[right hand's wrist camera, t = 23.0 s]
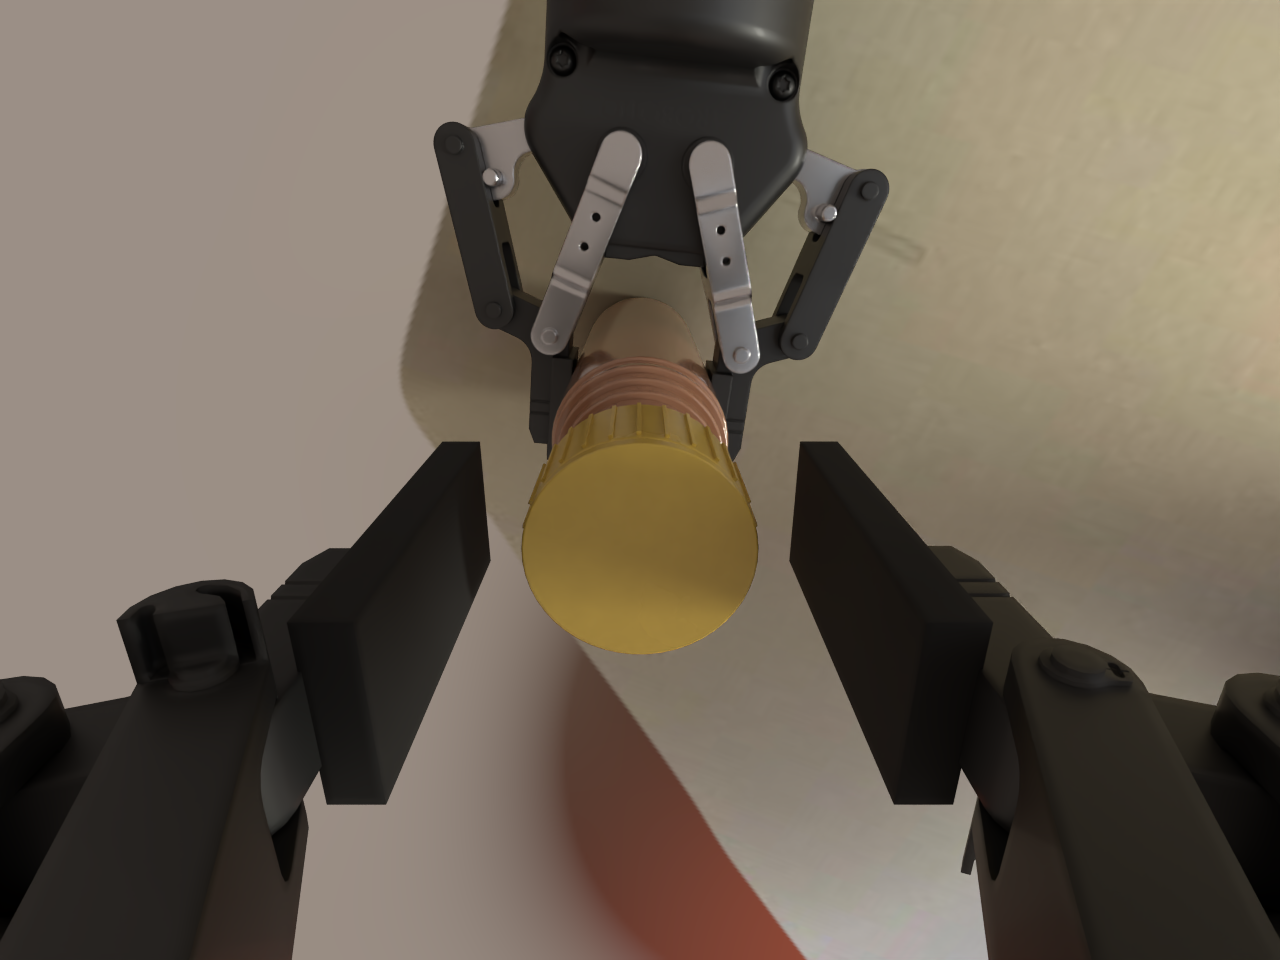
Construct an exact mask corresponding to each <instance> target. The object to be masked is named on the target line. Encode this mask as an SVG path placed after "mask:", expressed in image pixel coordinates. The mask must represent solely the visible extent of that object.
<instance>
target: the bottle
mask: <svg viewBox="0 0 1280 960" xmlns="http://www.w3.org/2000/svg"><path fill="white" fill-rule="evenodd" d="M637 403H641V405H654V406H661V407H662V405H666V408H669V409H673V410H675V411H678V412H680V413H683V414H685V413H688V414H690V417H691V418H693V419H694V420H696V421H698V422H699V423H701V424H702V425H703V426H705V427H706V426H709V427H710V430H711V432H712V433H713V434H714V435H715V436H716V437H717V438H718V440H719V441H720V442H721V444H722V443H723V442H724V443H725V444H726V446H727V449H728V430H727V423H726V420H725V416H724V413H723V410H722V408H721V405H720V403H719V401H718V398H717V396H716V393H715V391H714V389H713V386H712V384H711V381H710V379H709V377H708V374H707V372H706V369H705V367H704V364H703V362H702V360H701V357H700V355H699V352H698V350H697V348H696V345H695V343H694V340H693V338H692V336H691V333H690V331H689V329H688V326H687V325H686V323H685V321H684V320H683V318H682V317H681V316H680V315H679V314H678V313H677V312H676V311H675V310H674V309H673V308H671V307H670V306H668V305H667V304H665V303H663V302H661V301H658V300H655V299H651V298H644V297H637V298H629V299H625V300H622V301H619V302H617V303H615V304H613V305H612V306H610V307H609V308H607V309H606V310H605V311H604V312H603V313H602V314H601V315H600V316H599V317H598V319H597V320H596V322H595V323H594V325H593V327H592V329H591V331H590V334H589V336H588V338H587V341H586V343H585V346H584V348H583V350H582V353H581V355H580V358H579V360H578V362H577V365H576V367H575V370H574V372H573V374H572V377H571V379H570V382H569V384H568V386H567V389H566V391H565V394H564V396H563V398H562V401H561V403H560V406H559V408H558V410H557V413H556V416H555V420H554V424H553V430H552V448H553V446H554V444H557V445H558V444H559V442H560V441H561V440H562V438H563V437H564V436H565V435H566V434H567V433H568V430H569V428H570V427H571V426H572V427H573V428H574V427H575V426H577V425H578V424H579V423H581V422H582V421H584V420H585V419H587V418H588V417H589V415H590V414H593V415H595V414H597V413H600V412H602V411H604V410H607V409H611V408H612V406H614V405H616V407H619V406H626V405H637Z"/></svg>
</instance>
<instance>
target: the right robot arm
mask: <svg viewBox="0 0 1280 960" xmlns="http://www.w3.org/2000/svg"><path fill="white" fill-rule="evenodd" d="M490 561H491V560H490V549H489V538H488V527H487V516H486V505H485V494H484V483H483V471H482V460H481V449H480V442H442V443H441V444H440V445H439V446H438V447H437V449H436V450H435V451H434V452H433V453H432V454H431V456H430V457H429V458H428V459H427V460H426V461H425V463H424V464H423V465H422V466H421V467H420V468H419V470H418V471H417V472H416V473H415V474H414V475H413V476H412V478H411V479H410V480H409V481H408V482H407V484H406V485H405V486H404V487H403V488H402V489H401V490H400V492H399V493H398V494H397V495H396V496H395V497H394V499H393V500H392V501H391V502H390V503H389V504H388V505H387V507H386V508H385V509H384V510H383V511H382V513H381V514H380V515H379V516H378V517H377V518H376V519H375V521H374V522H373V523H372V524H371V525H370V526H369V528H368V529H367V530H366V531H365V532H364V533H363V534H362V536H361V537H360V538H359V539H358V540H357V541H356V543H355V544H354V545H353V546H352V547H351V548H329V549H327V550H326V551H324V552H322V553H320V554H318V555H316V556H315V557H313V558H311V559H309V560H308V561H306V562H304V563H302V564H301V565H300V566H299V567H298V568H297V569H296V570H295V571H294V572H293V574H292V575H291V576H290V577H289V578H288V579H287V580H286V581H285V585H281V586H280V587H279V588H278V589H277V590H276V591H275V592H274V593H273V594H272V595H271V600H267V601H266V602H265V603H264V604H263V605H262V606H261V607H260V608H259V609H258V608H257V603H256V599H255V595H254V591H253V589H252V588H251V587H249V586H248V585H246V584H245V583H243V582H238V581H231V580H225V579H224V580H208V581H199V582H194V583H190V584H185V585H181V586H176V587H173V588H170V589H168V590H165V591H162V592H159V593H157V594H154V595H151V596H149V597H148V598H146V599H144V600H142V601H140V602H139V603H137V604H135V605H133V606H132V607H130V608H129V609H128V610H127V611H126V612H125V613H124V614H122V615H121V616H120V617H119V618H118V619H117V624H118V627H119V630H120V633H121V636H122V639H123V642H124V645H125V648H126V651H127V654H128V657H129V660H130V663H131V666H132V669H133V673H134V675H135V679H136V682H137V685H136V687H135V689H134V691H133V692H132V694H131V696H129V697H125V698H120V699H115V700H109V701H104V702H99V703H93V704H88V705H83V706H78V707H73V708H67V709H64V706H63V704H62V701H61V698H60V696H59V693H58V691H57V688H56V685H55V684H53V683H52V682H50V681H49V680H47V679H45V678H43V677H29V676H21V677H14V678H8V679H0V960H292V953H293V945H294V938H295V930H296V922H297V914H298V906H299V899H300V891H301V883H302V875H303V867H304V859H305V852H306V844H307V836H308V828H309V827H308V821H307V814H306V810H305V806H304V801H303V798H304V796H305V794H306V793H307V791H308V789H309V787H310V786H311V784H312V782H313V780H314V779H315V777H316V775H317V773H318V772H319V771H320V776H321V780H322V785H323V789H324V794H325V798H326V803H327V805H367V804H368V805H385V804H386V803H387V801H388V799H389V796H390V794H391V792H392V789H393V787H394V785H395V782H396V780H397V778H398V775H399V773H400V771H401V768H402V766H403V764H404V761H405V759H406V757H407V754H408V752H409V750H410V747H411V745H412V743H413V740H414V738H415V736H416V733H417V731H418V729H419V726H420V724H421V722H422V719H423V717H424V715H425V712H426V710H427V708H428V705H429V703H430V701H431V698H432V696H433V694H434V691H435V689H436V687H437V685H438V682H439V680H440V678H441V675H442V673H443V671H444V668H445V666H446V664H447V661H448V659H449V656H450V654H451V652H452V650H453V647H454V645H455V643H456V640H457V638H458V636H459V633H460V631H461V629H462V626H463V624H464V622H465V619H466V617H467V615H468V612H469V610H470V608H471V605H472V603H473V601H474V598H475V596H476V594H477V591H478V589H479V587H480V584H481V582H482V580H483V577H484V575H485V573H486V570H487V568H488V566H489V563H490ZM789 561H790V563H791V566H792V568H793V570H794V573H795V575H796V577H797V580H798V582H799V584H800V587H801V589H802V591H803V594H804V596H805V598H806V601H807V603H808V605H809V608H810V610H811V612H812V615H813V617H814V619H815V622H816V624H817V626H818V629H819V631H820V633H821V636H822V638H823V640H824V643H825V645H826V647H827V650H828V652H829V654H830V657H831V659H832V661H833V664H834V666H835V668H836V671H837V673H838V675H839V678H840V680H841V682H842V685H843V687H844V689H845V692H846V694H847V696H848V699H849V701H850V703H851V706H852V708H853V710H854V712H855V715H856V717H857V719H858V722H859V724H860V726H861V729H862V731H863V733H864V736H865V738H866V740H867V743H868V745H869V747H870V750H871V752H872V754H873V757H874V759H875V761H876V764H877V766H878V768H879V771H880V773H881V775H882V778H883V780H884V782H885V785H886V787H887V789H888V792H889V794H890V796H891V799H892V801H893V803H894V805H953V803H954V798H955V794H956V789H957V785H958V780H959V776H960V771H961V768H962V770H963V772H964V773H965V775H966V777H967V779H968V780H969V782H970V784H971V785H972V787H973V789H974V791H975V792H976V794H977V796H978V797H977V801H976V806H975V810H974V814H973V818H972V823H971V827H970V831H969V835H968V839H967V844H966V848H965V852H964V856H963V862H962V868H961V873H965V874H969V875H971V871H972V867H973V863H974V860H976V866H977V873H978V881H979V889H980V897H981V904H982V912H983V920H984V928H985V935H986V943H987V951H988V959H989V960H1280V676H1276V675H1269V674H1262V673H1249V674H1237V675H1235V676H1234V677H1232V678H1231V679H1229V680H1227V681H1226V683H1225V685H1224V688H1223V691H1222V693H1221V696H1220V698H1219V701H1218V704H1217V706H1214V705H1209V704H1203V703H1198V702H1193V701H1188V700H1182V699H1177V698H1172V697H1167V696H1161V695H1156V694H1152V693H1148V691H1147V689H1146V687H1145V685H1144V684H1143V682H1142V681H1141V680H1140V679H1139V677H1138V676H1137V675H1136V674H1135V673H1134V672H1133V670H1132V669H1131V668H1129V667H1128V666H1126V665H1125V664H1123V663H1122V662H1120V661H1119V660H1117V659H1116V658H1114V657H1113V656H1111V655H1109V654H1107V653H1104V652H1102V651H1100V650H1097V649H1095V648H1093V647H1090V646H1088V645H1084V644H1081V643H1077V642H1073V641H1069V640H1065V639H1056V638H1052V637H1051V636H1050V635H1049V633H1048V632H1047V631H1046V630H1045V629H1044V628H1043V627H1042V626H1041V625H1040V624H1039V623H1038V622H1037V621H1036V620H1035V619H1034V618H1033V617H1032V616H1031V615H1030V614H1029V613H1028V612H1027V611H1026V610H1025V609H1024V608H1023V607H1022V606H1021V605H1020V604H1019V603H1018V602H1017V600H1016V599H1015V598H1014V597H1010V596H1009V594H1010V593H1009V592H1008V591H1007V590H1006V589H1005V588H1004V587H1003V586H1002V585H1001V584H1000V583H999V582H995V578H994V577H993V576H992V575H991V574H990V573H989V572H988V571H987V570H986V569H985V568H984V566H983V565H982V564H981V563H980V562H979V561H977V560H975V559H974V558H972V557H970V556H968V555H966V554H964V553H963V552H961V551H959V550H957V549H955V548H954V547H952V546H927V545H926V544H925V543H924V541H923V540H922V539H921V538H920V537H919V536H918V534H917V533H916V532H915V531H914V530H913V529H912V528H911V526H910V525H909V524H908V523H907V522H906V521H905V519H904V518H903V517H902V516H901V515H900V514H899V512H898V511H897V510H896V509H895V508H894V507H893V505H892V504H891V503H890V502H889V501H888V500H887V499H886V497H885V496H884V495H883V494H882V493H881V492H880V490H879V489H878V488H877V487H876V486H875V485H874V483H873V482H872V481H871V480H870V479H869V478H868V476H867V475H866V474H865V473H864V472H863V471H862V470H861V468H860V467H859V466H858V465H857V464H856V463H855V461H854V460H853V459H852V458H851V457H850V456H849V454H848V453H847V452H846V451H845V450H844V449H843V447H842V446H841V445H840V444H839V443H838V442H800V449H799V460H798V471H797V483H796V494H795V505H794V516H793V527H792V538H791V549H790V560H789Z"/></svg>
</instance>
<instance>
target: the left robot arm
mask: <svg viewBox="0 0 1280 960" xmlns="http://www.w3.org/2000/svg"><path fill="white" fill-rule="evenodd" d="M813 2H814V0H547V13H546V37H545V60H544V68H543V73H542V77H541V80H540V83H539V86H538V88H537V90H536V93H535V94H534V96H533V98H532V100H531V101H530V103H529V105H528V107H527V110H526V113H525V118H521V119H516V120H510V121H505V122H500V123H495V124H489V125H484V126H479V127H474V128H469V127H466V126H464V125H462V124H460V123H458V122H447V123H445V124H443V125H441V126H440V127H439V128H438V130H437V131H436V133H435V136H434V149H435V153H436V157H437V161H438V165H439V169H440V173H441V177H442V181H443V185H444V189H445V193H446V197H447V201H448V205H449V209H450V213H451V217H452V221H453V225H454V229H455V233H456V237H457V241H458V245H459V249H460V253H461V257H462V261H463V265H464V269H465V273H466V277H467V281H468V285H469V289H470V293H471V297H472V301H473V305H474V309H475V313H476V316H477V318H478V320H479V321H480V322H481V323H482V324H483V325H484V326H486V327H488V328H491V329H500V330H502V331H505V332H507V333H509V334H511V335H513V336H515V337H517V338H519V339H521V340H522V341H523V342H524V343H525V344H526V345H527V347H528V348H529V350H530V353H531V357H532V370H531V394H530V418H529V429H530V432H531V435H532V438H533V440H534V443H544V444H547V460H548V459H549V456H550V453H551V451H552V430H553V424H554V420H555V416H556V413H557V410H558V408H559V406H560V403H561V401H562V398H563V396H564V394H565V391H566V389H567V386H568V384H569V382H570V379H571V377H572V374H573V372H574V370H575V367H576V365H577V362H578V348H579V347H573V332H574V330H575V328H576V325H577V323H578V320H579V318H580V316H581V313H582V311H583V308H584V306H585V303H586V301H587V298H588V296H589V294H590V291H591V289H592V286H593V284H594V282H595V280H596V277H597V275H598V273H599V270H600V268H601V265H602V263H603V260H604V258H605V257H607V258H616V259H626V260H631V259H636V258H642V257H648V256H658V257H661V258H663V259H666V260H668V261H671V262H673V263H676V264H678V265H684V266H694V267H700V272H701V277H702V282H703V287H704V291H705V295H706V299H707V304H708V309H709V314H710V319H711V325H712V330H713V335H714V340H715V348H714V356H713V361H708V360H706V367H705V369H706V372H707V374H708V377H709V379H710V381H711V384H712V386H713V389H714V391H715V393H716V396H717V398H718V401H719V403H720V405H721V408H722V410H723V413H724V416H725V420H726V423H727V430H728V452H729V455H730V457H731V460H732V462H733V460H734V459H735V457H736V455H737V454H738V452H739V450H740V449H741V443H742V436H743V430H744V424H745V418H746V411H747V405H748V399H749V393H750V386H751V381H752V378H753V376H754V374H755V373H756V372H757V370H758V369H759V368H761V367H762V366H764V365H766V364H768V363H771V362H775V361H779V360H783V359H787V358H790V359H793V360H802V359H805V358H807V357H809V356H810V355H811V354H812V353H813V352H814V351H815V349H816V347H817V345H818V343H819V341H820V339H821V337H822V335H823V333H824V330H825V328H826V326H827V324H828V322H829V320H830V318H831V316H832V314H833V311H834V309H835V307H836V305H837V303H838V301H839V299H840V297H841V295H842V292H843V290H844V288H845V286H846V284H847V282H848V280H849V278H850V275H851V273H852V271H853V269H854V267H855V265H856V263H857V261H858V259H859V256H860V254H861V252H862V250H863V248H864V246H865V244H866V242H867V240H868V237H869V235H870V233H871V231H872V229H873V227H874V225H875V223H876V220H877V218H878V216H879V214H880V212H881V210H882V208H883V206H884V204H885V201H886V199H887V197H888V194H889V183H888V180H887V178H886V176H885V175H884V174H883V173H882V172H881V171H879V170H876V169H861V170H855V169H852V168H850V167H848V166H845V165H843V164H841V163H838V162H836V161H834V160H832V159H829V158H827V157H825V156H822V155H820V154H818V153H815V152H813V151H811V150H809V149H807V137H806V133H805V130H804V127H803V124H802V121H801V116H800V110H799V91H800V84H801V78H802V71H803V65H804V59H805V52H806V46H807V40H808V34H809V27H810V21H811V15H812V9H813ZM531 154H533V155H534V157H535V159H536V161H537V162H538V164H539V166H540V167H541V169H542V171H543V173H544V174H545V176H546V178H547V180H548V181H549V183H550V185H551V186H552V188H553V190H554V192H555V193H556V195H557V197H558V198H559V200H560V202H561V204H562V205H563V207H564V209H565V211H566V212H567V214H568V216H569V217H570V219H571V221H572V223H571V226H570V228H569V231H568V234H567V236H566V239H565V241H564V244H563V246H562V249H561V252H560V254H559V257H558V259H557V262H556V264H555V267H554V270H553V273H552V278H551V281H550V284H549V286H548V289H547V291H546V294H545V296H544V299H543V301H542V300H539V299H537V298H535V297H533V296H531V295H529V294H527V293H525V292H523V289H522V284H521V280H520V275H519V271H518V266H517V262H516V257H515V253H514V248H513V244H512V239H511V235H510V230H509V226H508V221H507V217H506V212H505V208H504V203H503V200H506V199H509V198H511V197H512V196H513V195H514V194H515V193H516V191H517V189H518V186H519V168H520V165H521V163H522V162H523V160H524V159H525V158H526V157H528V156H529V155H531ZM791 183H793V184H794V185H795V186H796V187H797V188H798V190H799V192H800V196H801V203H800V207H799V211H798V219H799V222H800V225H801V226H802V227H803V229H805V230H806V231H808V232H809V234H808V236H807V239H806V241H805V243H804V245H803V248H802V250H801V252H800V255H799V257H798V259H797V261H796V264H795V266H794V268H793V270H792V273H791V275H790V277H789V279H788V282H787V284H786V286H785V288H784V291H783V293H782V295H781V298H780V300H779V302H778V304H777V307H776V309H775V311H774V313H773V316H772V317H770V318H766V319H762V320H758V321H755V319H754V313H753V307H752V300H751V297H752V290H751V282H750V276H749V270H748V264H747V258H746V252H745V246H744V240H743V237H744V236H745V235H746V234H747V233H748V232H749V231H750V229H751V228H752V227H753V226H754V225H755V224H756V223H757V222H758V220H759V219H760V218H761V217H762V216H763V215H764V214H765V213H766V211H767V210H768V209H769V208H770V207H771V206H772V205H773V204H774V202H775V201H776V200H777V199H778V198H779V197H780V196H781V195H782V193H783V192H784V191H785V190H786V189H787V188H788V187H789V186H790V184H791Z"/></svg>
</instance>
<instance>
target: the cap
mask: <svg viewBox="0 0 1280 960" xmlns="http://www.w3.org/2000/svg"><path fill="white" fill-rule="evenodd" d="M750 502H751V500H750V498H749V495H748V492H747V490H746V487H745V485H744V482H743V479H742V477H741V474H740V472H739V469H738V466H737V464H736V462H734V463H733V462H732V460H731V457H730V455H729V452H728V449H727V446H726V444H725V443H724V442H723V443H722V444H721V442H720V441H719V440H718V438H717V437H716V436H715V435H714V434H713V433H712V432H711V430H710V427H709V426H706V427H705V426H703V425H702V424H701V423H699V422H698V421H696V420H694V419H693V418H691V417H690V414H688V413H685V414H683V413H680V412H678V411H675V410H673V409H669V408H666V405H662V407H661V406H654V405H641V403H637V405H626V406H619V407H616V405H614V406H612V408H611V409H607V410H604V411H602V412H600V413H597V414H595V415H593V414H590V415H589V417H588V418H587V419H585V420H584V421H582V422H581V423H579V424H578V425H577V426H575V427H574V428H573V427H572V426H571V427H570V428H569V430H568V433H567V434H566V435H565V436H564V437H563V438H562V440H561V441H560V442H559V444H558V445H557V444H554V446H553V448H552V451H551V453H550V456H549V459H548V461H547V464H543V466H542V469H541V471H540V474H539V477H538V479H537V482H536V484H535V487H534V490H533V492H532V495H531V497H530V500H529V503H528V504H530V507H529V510H528V512H527V515H526V518H525V520H524V523H523V528H524V530H523V535H522V548H521V549H522V562H523V567H524V571H525V576H526V578H527V581H528V583H529V586H530V589H531V591H532V592H533V594H534V596H535V598H536V600H537V601H538V603H539V604H540V605H541V607H542V608H543V609H544V611H545V612H546V613H547V614H548V615H549V616H550V617H551V619H552V620H553V621H554V622H555V623H557V624H558V625H559V626H560V627H562V628H563V629H564V630H565V631H567V632H568V633H570V634H571V635H573V636H574V637H576V638H578V639H580V640H582V641H584V642H586V643H588V644H590V645H593V646H596V647H599V648H602V649H605V650H609V651H614V652H618V653H627V654H653V653H662V652H666V651H671V650H675V649H678V648H681V647H684V646H687V645H690V644H692V643H694V642H696V641H698V640H700V639H702V638H704V637H705V636H707V635H709V634H710V633H712V632H713V631H715V630H716V629H717V628H718V627H720V626H721V625H722V624H723V623H725V622H726V621H727V619H728V618H729V617H730V616H731V615H732V614H733V613H734V612H735V611H736V609H737V608H738V607H739V605H740V604H741V603H742V601H743V600H744V598H745V596H746V594H747V592H748V590H749V588H750V586H751V583H752V581H753V578H754V575H755V571H756V566H757V561H758V536H757V530H756V527H757V522H756V520H755V517H754V514H753V512H752V509H751V506H750V504H749V503H750Z"/></svg>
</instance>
